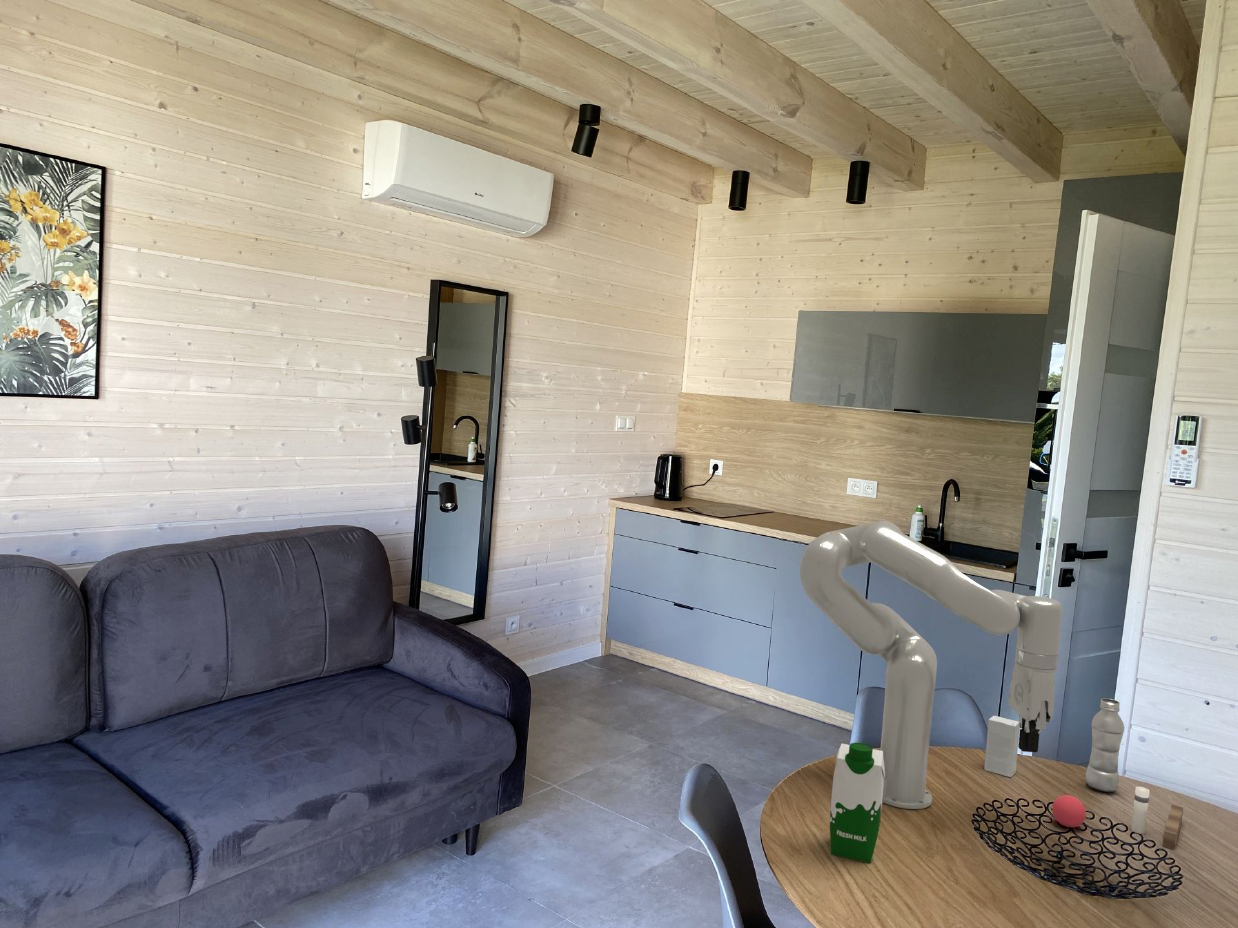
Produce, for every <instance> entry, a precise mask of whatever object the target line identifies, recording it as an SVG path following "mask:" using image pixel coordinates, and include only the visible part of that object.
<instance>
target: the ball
mask: <svg viewBox="0 0 1238 928" xmlns="http://www.w3.org/2000/svg"><path fill="white" fill-rule="evenodd" d="M1051 809H1052V814H1053V817H1054V819H1055V820H1056V821H1057V822H1058V823H1059V824H1061V825H1062V826H1065V827H1066V828H1067V827H1068V828H1077V827H1079V826H1081V825H1082V824H1083V823H1084V822H1085V820H1086V816H1087V811H1086V808H1085V805H1084V804H1083V802H1082V801H1081V800H1080V799H1078V798H1077V797H1075V796H1073V795H1070V794H1064V795H1060V796H1058V797H1056V798H1055V800H1054V801H1053V803H1052V807H1051Z"/></svg>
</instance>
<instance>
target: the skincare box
mask: <svg viewBox="0 0 1238 928" xmlns="http://www.w3.org/2000/svg"><path fill="white" fill-rule="evenodd" d="M1020 729H1021V728H1020V727H1019V721H1018V720H1013V719H1008V718H1005V717H1002V716H997V715H993V716H991V717H990V718H989V719H988V720H987V733H986V734H987V735H986V742H985V743H986V745H985V753H984V754H985V755H984V756H985V757H984V766H983V767H984V768H983V770H984V771H986V772H990V773H994V774H998V775H1001V776H1004V777H1008V778H1012V777H1013V776H1014V775H1015V774H1016V771H1017V762H1018V749H1019V748H1018V744H1019V733H1020Z"/></svg>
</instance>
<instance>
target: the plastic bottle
mask: <svg viewBox="0 0 1238 928" xmlns="http://www.w3.org/2000/svg"><path fill="white" fill-rule="evenodd" d="M1099 708H1100V710H1099V711H1098V712H1097V713H1096V714H1095V715H1094V716H1093V718H1092V720H1091V738H1092V739H1091V753H1090V757H1089V762H1088V765H1087V767H1086V772H1085V780H1086V783H1087V784H1088V786H1089V787H1091V788H1093V789H1094V790H1097V791H1101V792H1107V793H1113V792H1114V791H1116V790H1117V789H1118V786H1119V784H1120V783H1119V782H1120V777H1119V754H1120V748H1121V743H1122V739H1123V736H1124V732H1125V723H1124V722H1123V720H1122V717H1121V715H1120V714H1119V712H1120V702H1119V701H1117V700H1116V699H1112V698H1107V697H1106V698H1101V699H1100V705H1099Z"/></svg>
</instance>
